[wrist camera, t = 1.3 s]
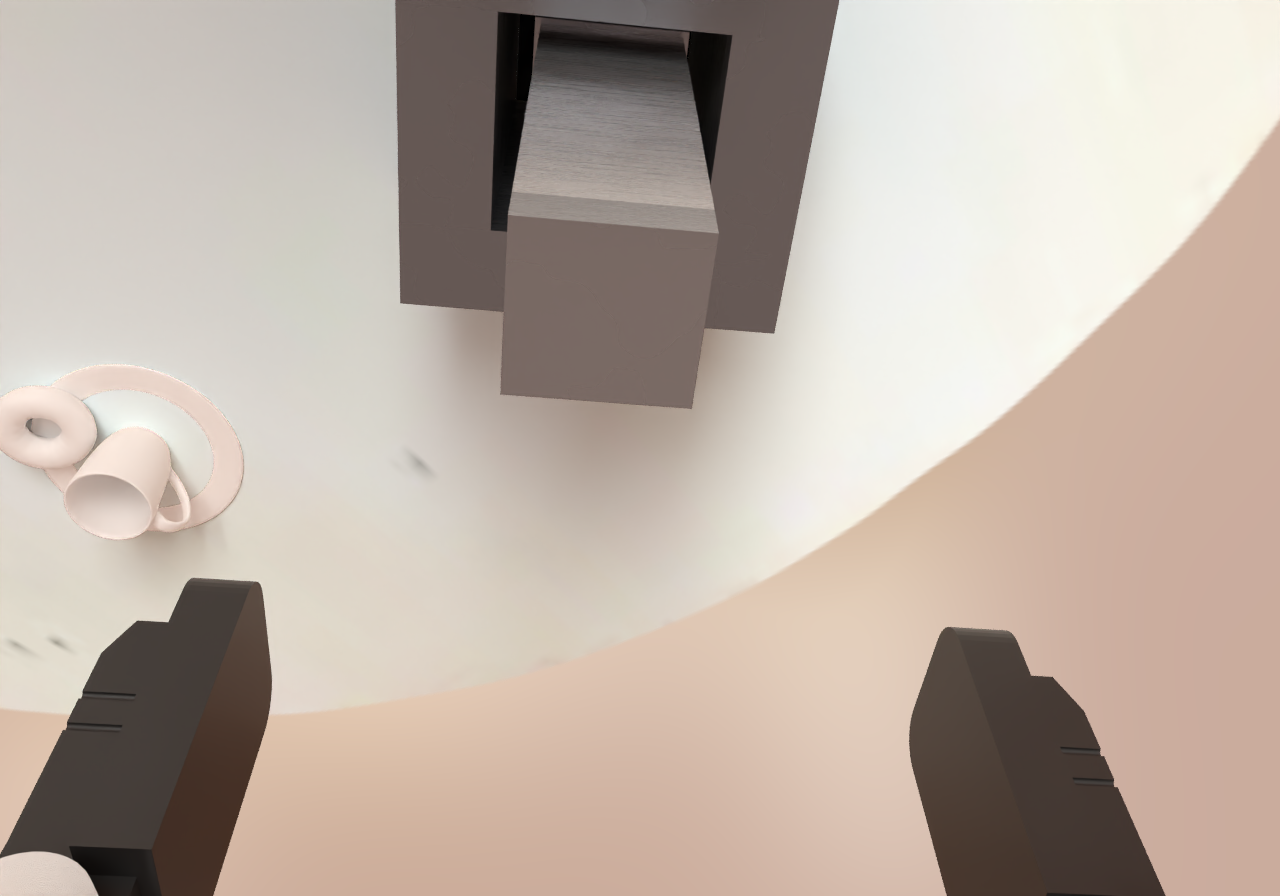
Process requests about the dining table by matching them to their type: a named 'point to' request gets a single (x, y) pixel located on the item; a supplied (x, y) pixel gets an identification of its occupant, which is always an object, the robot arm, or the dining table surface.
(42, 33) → the dining table surface
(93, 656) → the dining table surface
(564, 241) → the column
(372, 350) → the dining table surface
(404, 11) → the housing
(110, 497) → the teacup and saucer
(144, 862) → the robot arm
